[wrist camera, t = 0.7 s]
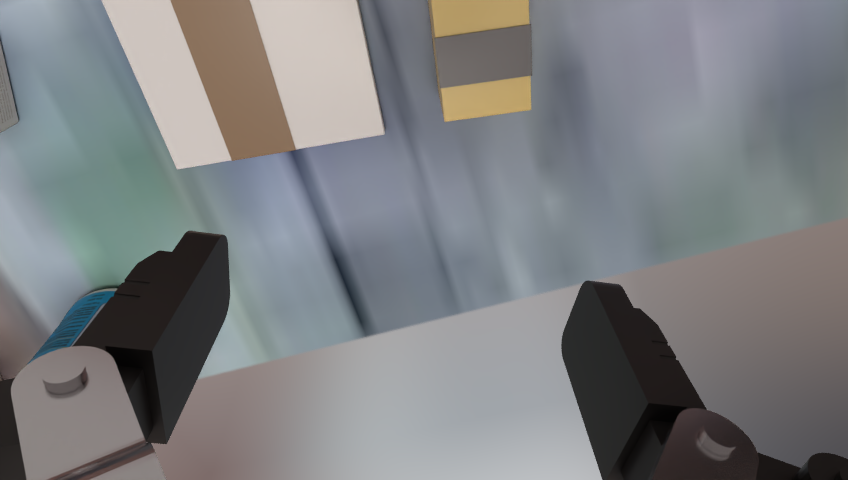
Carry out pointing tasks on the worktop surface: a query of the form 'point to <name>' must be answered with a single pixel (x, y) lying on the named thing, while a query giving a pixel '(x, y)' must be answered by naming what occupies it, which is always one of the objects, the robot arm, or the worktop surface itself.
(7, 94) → the small box
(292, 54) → the floor panel
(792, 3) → the worktop surface
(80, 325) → the teal labeled canister
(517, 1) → the block
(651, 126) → the worktop surface
